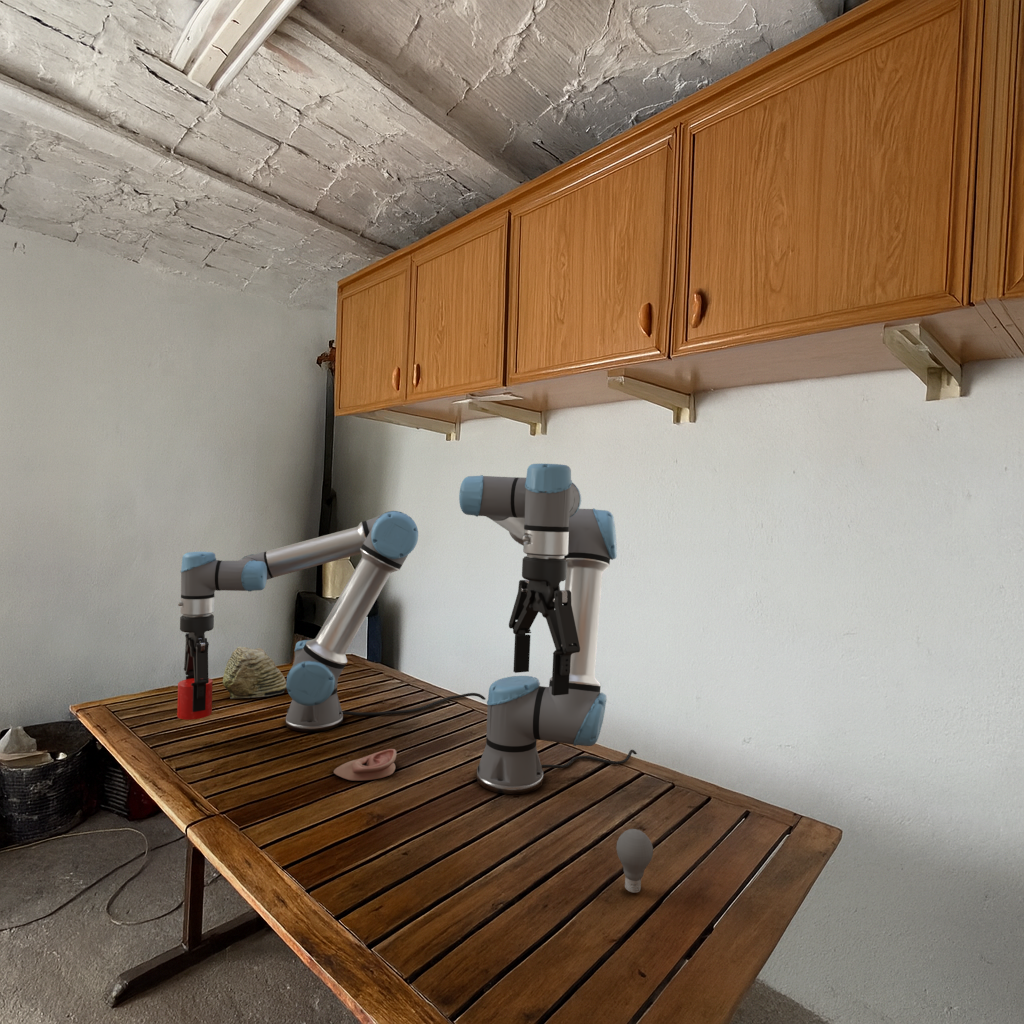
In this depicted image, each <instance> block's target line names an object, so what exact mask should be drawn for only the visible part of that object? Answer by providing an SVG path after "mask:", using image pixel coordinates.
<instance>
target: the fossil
mask: <svg viewBox="0 0 1024 1024" xmlns="http://www.w3.org/2000/svg"><path fill="white" fill-rule="evenodd" d="M222 676H223V677H222V685H223V687H224V688H225V690H226V691H228V693H229V698H230V699H250V698H264V697H271V696H275V695H281V694H284V693H285V691H287V687H286V678H285V676H284V674H283V673H282V672H281V669H279V668H278V667H277V665H276V663H275V662H274V660H273V659H272V658H271V657H270V656H269V655H268V654H267V653H266V652H265V650H264V649H263V648H260V647H258V648H251V647H247V646H246V647H245V646H238V647H237V648H236V649H235V650H233V651H232V653H231V656H230V657H229V659H228V660H227V663H226V666H225V668H224V671H223V675H222Z"/></svg>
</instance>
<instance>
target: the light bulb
mask: <svg viewBox="0 0 1024 1024" xmlns="http://www.w3.org/2000/svg"><path fill="white" fill-rule="evenodd" d="M615 849H616V854H617V857H618V859H619V861H620V863H621V865H622V867H623V873H624V874H623V875H624V876H625V878H624V888H625V890H627V891H628V892H630V893H634V894H635V893H639V892H640V891H641V889H642V887H641V886H642V879H643V877H644V875H645V871H646V868H647V867H648V866H649V864H650V863H651V861H652V859H653V855H654V847H653V843H652V841H651V838H649V836H648V835H647V834H646V833H645V832H643V831H642V830H641V829H636V828H629V829H627V830H625V831H623V832H622V833H621V834H620V835H619V837H618V839H617V841H616V847H615Z"/></svg>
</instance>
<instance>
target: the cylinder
mask: <svg viewBox="0 0 1024 1024" xmlns="http://www.w3.org/2000/svg"><path fill="white" fill-rule="evenodd" d="M208 680H209V682H208V683H206V705H205V710H203V711H197V712H193V686H191V684H192V683H194V678H191V679H186V678H185V679H183V680H180V681H179V682H178V683H177V705H176V706H177V708H176V709H177V710H176V714H177V715H176V717H177V718H178V719H180V720H185V721H192V720H200V719H204V718H207V717H209V716H211V715H212V713H213V686H214V685H213V684H214V683H213V681H214V680H213V679H212V678H209V677H208Z"/></svg>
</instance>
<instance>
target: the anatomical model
mask: <svg viewBox="0 0 1024 1024" xmlns="http://www.w3.org/2000/svg"><path fill="white" fill-rule="evenodd" d="M396 759H397V750H396V749H395V748H389V749H388V748H387V749H384V750H380V751H377V752H374V753H372V754H369V755H366V756H363V757H361V758H357V759H353V760H350V761H347V762H345V763H342V764H341V765H339V766H337V767H336V768H334V769H333V774H334V775H336V776H338V777H339V778H342V779H345V780H348V781H354V782H359V781H372V780H377V779H382V778H386V777H388V776H391V775H393V773H394V772H395V771H396V764H395V760H396Z"/></svg>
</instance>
